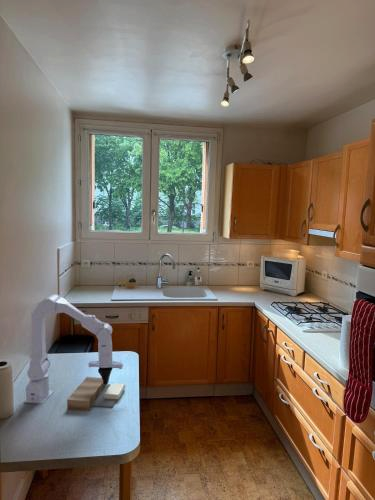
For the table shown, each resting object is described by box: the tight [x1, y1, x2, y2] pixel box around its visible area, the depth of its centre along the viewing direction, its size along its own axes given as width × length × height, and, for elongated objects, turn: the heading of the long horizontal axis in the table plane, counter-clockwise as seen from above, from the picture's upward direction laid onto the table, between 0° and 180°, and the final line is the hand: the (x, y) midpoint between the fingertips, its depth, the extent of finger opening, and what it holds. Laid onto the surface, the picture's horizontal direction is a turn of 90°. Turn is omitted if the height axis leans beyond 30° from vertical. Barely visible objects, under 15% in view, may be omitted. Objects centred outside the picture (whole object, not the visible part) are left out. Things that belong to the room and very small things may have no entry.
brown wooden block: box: [66, 376, 106, 412], centre depth 144 cm, size 19×9×4 cm, turn 173°
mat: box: [92, 383, 118, 409], centre depth 145 cm, size 17×8×1 cm, turn 173°
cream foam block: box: [105, 382, 126, 400], centre depth 146 cm, size 9×6×2 cm, turn 173°
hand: (106, 383), depth 147 cm, fingers closed
